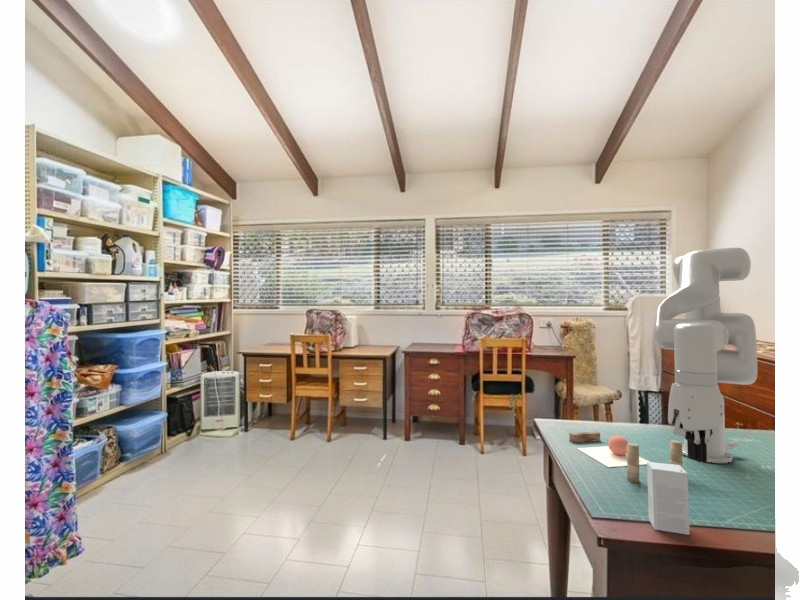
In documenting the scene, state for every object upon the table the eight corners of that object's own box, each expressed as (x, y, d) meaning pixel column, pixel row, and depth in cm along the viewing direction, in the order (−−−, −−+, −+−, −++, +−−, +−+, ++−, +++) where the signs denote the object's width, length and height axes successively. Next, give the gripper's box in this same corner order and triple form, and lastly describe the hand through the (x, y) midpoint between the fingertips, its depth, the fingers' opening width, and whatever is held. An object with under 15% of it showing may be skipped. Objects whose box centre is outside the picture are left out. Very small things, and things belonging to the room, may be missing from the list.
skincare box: (681, 524, 77) (680, 464, 77) (690, 536, 73) (689, 473, 73) (647, 518, 79) (646, 460, 79) (653, 530, 75) (652, 469, 75)
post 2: (676, 474, 99) (675, 440, 100) (685, 478, 97) (684, 443, 97) (667, 475, 99) (667, 440, 99) (676, 479, 96) (675, 444, 97)
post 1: (633, 478, 97) (633, 442, 98) (641, 482, 95) (641, 446, 95) (624, 478, 97) (624, 443, 97) (632, 483, 94) (632, 447, 95)
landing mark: (617, 446, 120) (617, 445, 120) (653, 464, 106) (653, 463, 106) (576, 448, 117) (576, 448, 117) (608, 467, 104) (608, 467, 104)
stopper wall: (596, 439, 126) (596, 431, 126) (600, 440, 125) (600, 433, 125) (569, 440, 124) (569, 433, 125) (572, 442, 123) (572, 434, 123)
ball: (618, 435, 117) (630, 434, 112) (624, 454, 115) (636, 454, 109) (602, 436, 116) (613, 436, 111) (607, 456, 114) (618, 456, 109)
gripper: (707, 372, 89) (709, 449, 90) (652, 377, 87) (654, 455, 87) (741, 379, 82) (742, 463, 82) (681, 384, 80) (683, 470, 80)
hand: (697, 459), depth 85 cm, fingers closed
